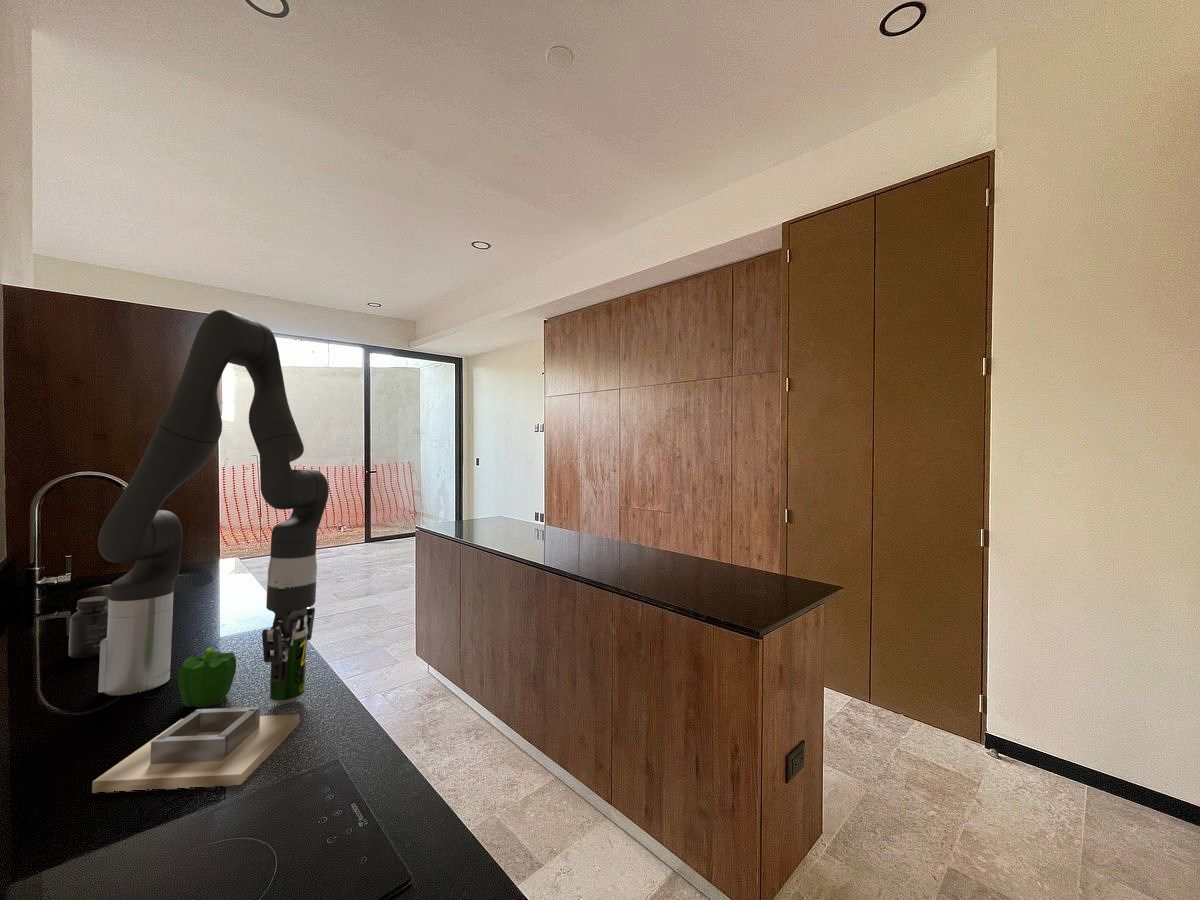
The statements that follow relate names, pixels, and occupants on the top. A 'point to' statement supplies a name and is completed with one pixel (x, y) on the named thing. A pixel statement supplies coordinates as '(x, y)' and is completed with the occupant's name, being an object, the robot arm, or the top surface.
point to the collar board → (201, 751)
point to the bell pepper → (206, 678)
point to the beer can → (292, 672)
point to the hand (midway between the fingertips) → (288, 675)
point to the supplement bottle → (88, 627)
